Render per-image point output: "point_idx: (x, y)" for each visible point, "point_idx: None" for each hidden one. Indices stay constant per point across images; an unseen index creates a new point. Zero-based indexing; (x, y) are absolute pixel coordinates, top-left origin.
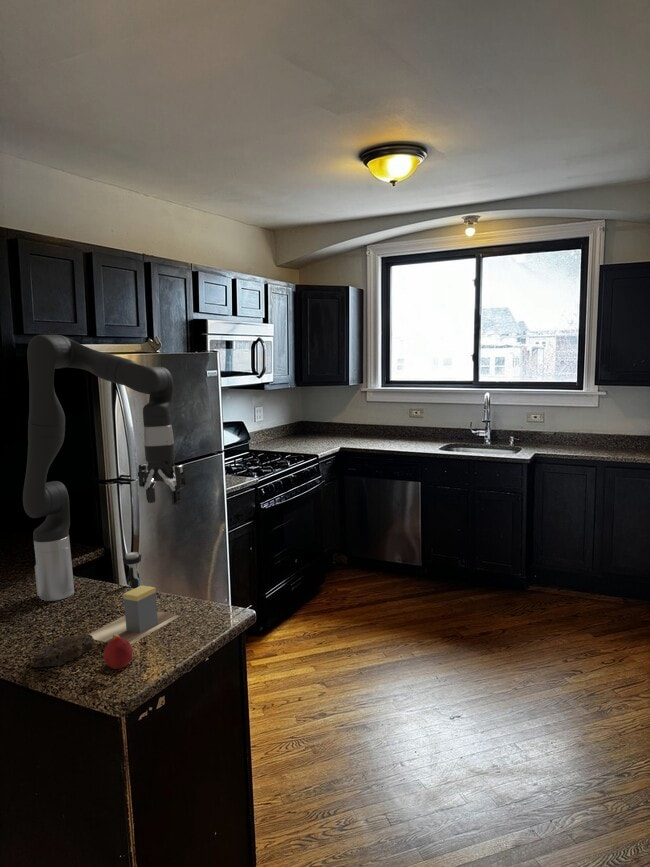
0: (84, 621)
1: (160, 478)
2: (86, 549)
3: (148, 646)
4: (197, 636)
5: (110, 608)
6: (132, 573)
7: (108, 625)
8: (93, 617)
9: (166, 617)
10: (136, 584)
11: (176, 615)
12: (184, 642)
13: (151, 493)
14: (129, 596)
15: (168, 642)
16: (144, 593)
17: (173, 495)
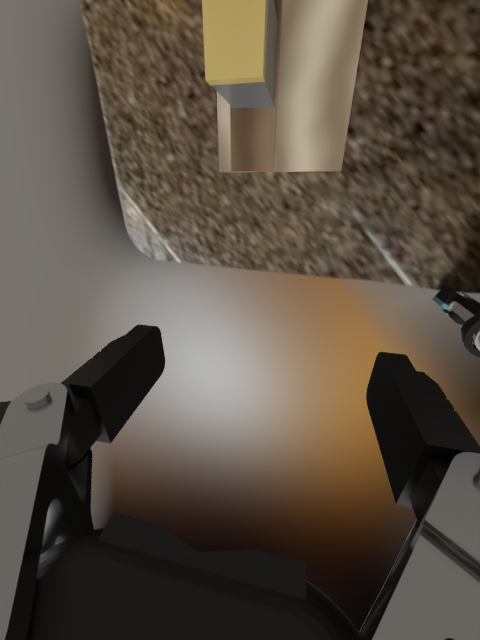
0: (470, 52)
1: (143, 599)
2: None
3: (192, 13)
4: (140, 118)
5: (438, 165)
6: (468, 308)
7: (354, 32)
8: (456, 91)
9: (238, 147)
10: (442, 295)
11: (228, 170)
12: (141, 78)
13: (396, 429)
14: None
15: (169, 59)
16: (203, 14)
17: (99, 360)
